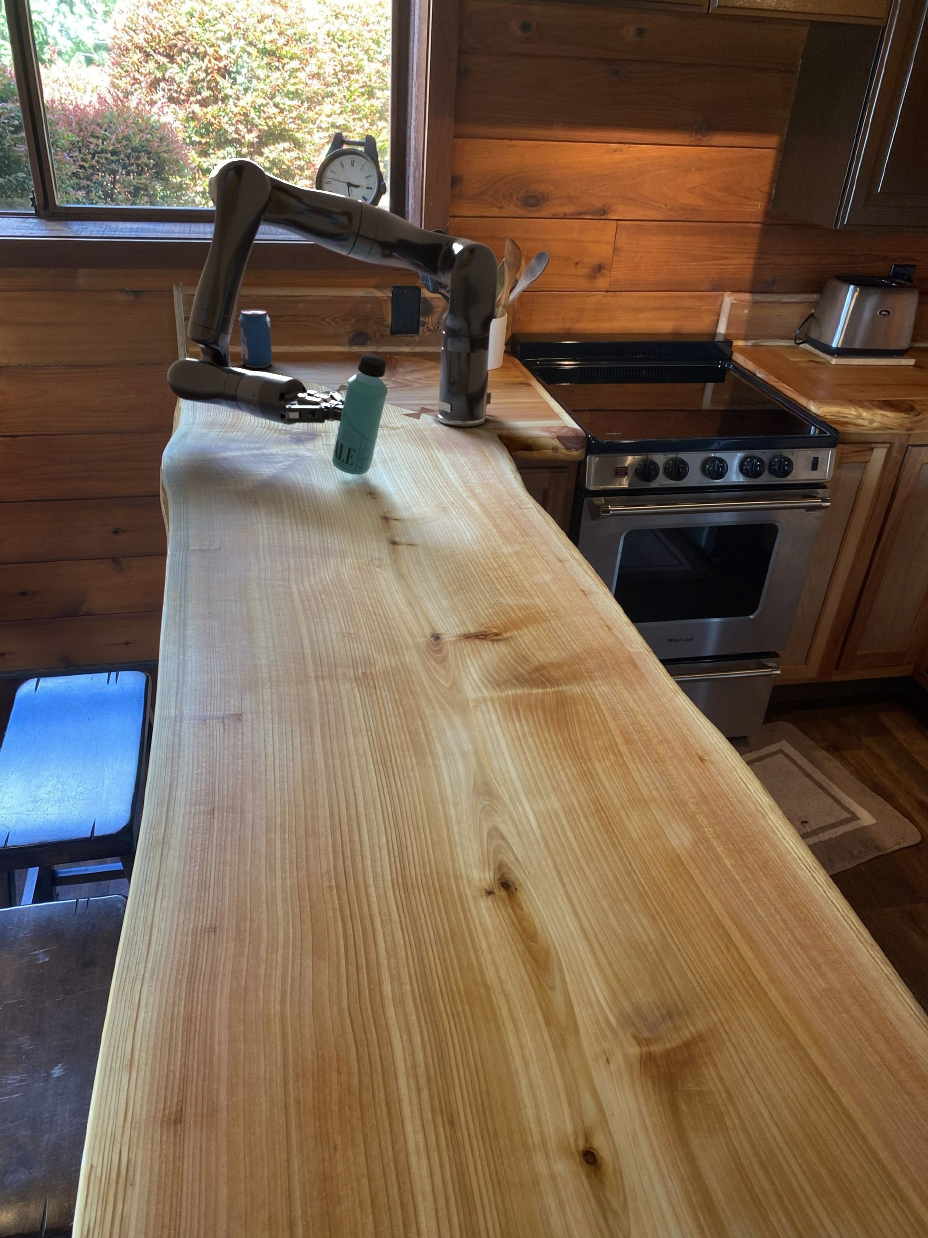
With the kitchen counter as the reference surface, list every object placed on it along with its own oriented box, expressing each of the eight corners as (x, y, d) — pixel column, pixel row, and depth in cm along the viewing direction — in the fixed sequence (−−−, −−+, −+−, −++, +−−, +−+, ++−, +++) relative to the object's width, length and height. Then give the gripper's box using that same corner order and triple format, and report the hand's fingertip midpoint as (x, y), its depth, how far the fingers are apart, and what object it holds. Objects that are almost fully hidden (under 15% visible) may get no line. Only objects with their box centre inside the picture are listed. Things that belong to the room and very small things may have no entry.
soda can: (277, 363, 213) (274, 310, 207) (264, 369, 207) (261, 315, 201) (249, 360, 214) (246, 307, 208) (236, 366, 208) (233, 312, 202)
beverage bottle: (372, 469, 150) (398, 356, 138) (363, 487, 144) (391, 371, 133) (334, 458, 149) (357, 344, 138) (324, 476, 144) (348, 358, 132)
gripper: (242, 382, 142) (330, 401, 135) (296, 367, 152) (381, 384, 145) (245, 428, 146) (331, 450, 138) (298, 410, 156) (380, 430, 148)
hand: (356, 416), depth 142 cm, fingers closed
